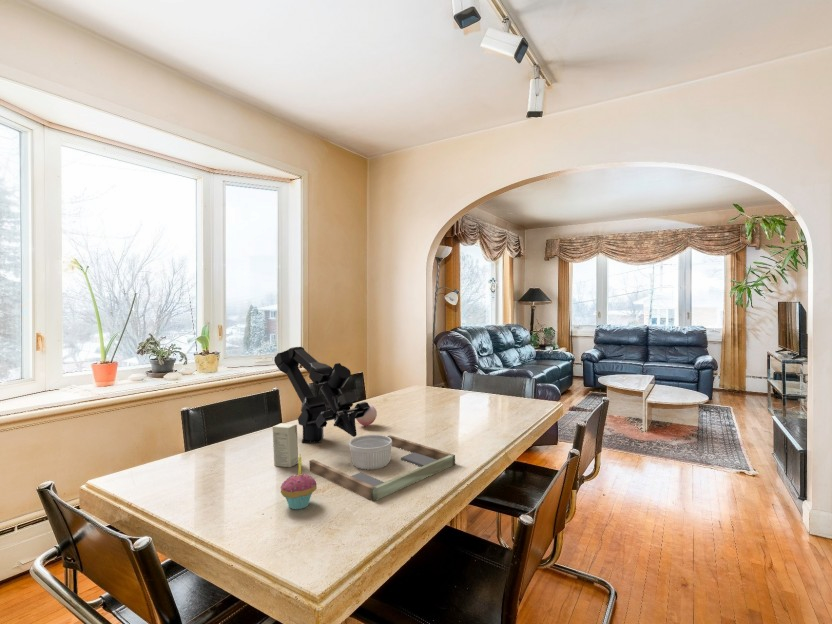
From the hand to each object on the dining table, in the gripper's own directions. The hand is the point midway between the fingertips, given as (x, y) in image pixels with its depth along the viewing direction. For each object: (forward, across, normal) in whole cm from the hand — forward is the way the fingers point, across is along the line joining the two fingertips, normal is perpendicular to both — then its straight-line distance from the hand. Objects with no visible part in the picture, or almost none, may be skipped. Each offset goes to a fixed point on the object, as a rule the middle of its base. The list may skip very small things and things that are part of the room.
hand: (355, 435), depth 136 cm
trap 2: (+17, +11, -8) cm, 22 cm away
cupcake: (+16, -30, -6) cm, 34 cm away
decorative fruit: (-12, +24, +22) cm, 35 cm away
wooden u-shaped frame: (+14, 0, -4) cm, 15 cm away
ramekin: (+10, 0, 0) cm, 11 cm away
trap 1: (+18, -11, -8) cm, 22 cm away
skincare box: (-3, -18, +13) cm, 23 cm away
